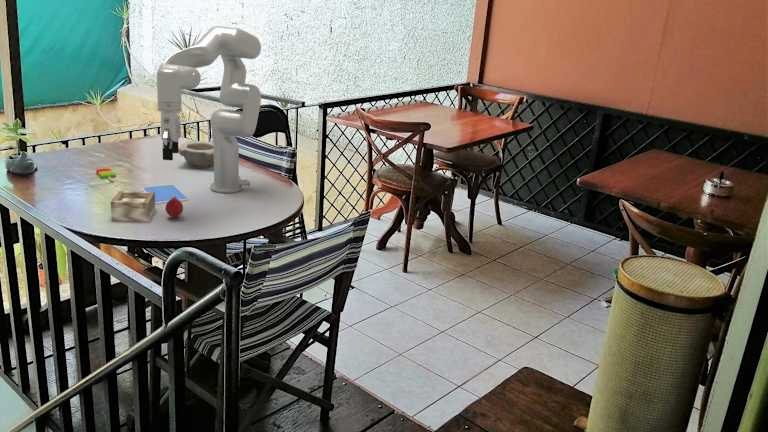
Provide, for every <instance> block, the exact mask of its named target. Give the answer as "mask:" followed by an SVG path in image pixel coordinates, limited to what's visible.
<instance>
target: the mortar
mask: <svg viewBox="0 0 768 432" xmlns="http://www.w3.org/2000/svg"><path fill="white" fill-rule="evenodd" d="M178 154H179V155H180V157H181V156H182V157H183V158H184V160H185V161H186V163H187V165H188V166H190V168H191V167H192V168H194V169H195V168H196V169H207V168H211V167H214V144H213V142H212V141H204V140H188V141H187V142H184V143H182V144H181V145H180V146H179V147H178Z"/></svg>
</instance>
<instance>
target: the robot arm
mask: <svg viewBox="0 0 768 432" xmlns="http://www.w3.org/2000/svg"><path fill="white" fill-rule="evenodd" d="M261 50H262V44H261V41H260V39H259V38H258V37H257V36H256V35H254V34H252V33H249V32H247V31H245V30H244V29H240V28H238V27H230V26H221V25H217V26H212V27H211V28H209V29H208V30H207V31H206V32H205V34H203V35H202V36H201V38H200V39H199V40H198V41H197V42H195V44H194V45H192V46H189V47H186V48H183V49H182V50H179V51H176V52H173V53H172V54H171V55H169V56H168V57H167V58H166V59H164V61H163V62H162V63H161V64H160V65H159V66H158V67H159V68H158V69H157V72H156V93H157V94H156V95H157V97H156V98H157V111H159V112H160V138H161V139H160V140H161V141H162V160H164V161H173V160H174V154H179V152H178V149H179V139H180V138H181V137H182V128H181V127H182V126H181V125H182V124H181V114H180V112H182V90H193V89H196V88H197V87H198V86H199V85H200V83H201V80H202V79H201V78H202V77H201V76H202V75H201V73H200V72H199V70H197V69H199V68H205V67H208V66H210V65H212V64H213V63H214V62H216V60H217V58H219V56H220V57H221V60H222V62H223V75H222V80H221V86H220V90H219V91H220V92H219V102H220V103H221V104H222V105H223V106H227V107H230V108H237V109H242V111H241V110H240V111H238V110H234V109H232V110H231V109H224V108H222V109H221V108H220V109H217V110H214V111H213V113H212V114H211V116H210V121H209V122H210V128H211V132H212V139H213V142H212V143H213V144H214V165H213V182H212V183H211V184H210V185H209V189H210V190H211V191H213V192H215V193H219V194H220V193H221V194H233V193H237V192H240V191H242V190H243V187H244V186H245V187H246V186H249V187H250V186H251V181H250V180H248V179H242V178H241V176H240V175H239V166H240V165H239V163H240V161H239V155H240V154H239V150H240V149H239V142H238V140H237V138H236V137H239V138H240V137H241V138H250V137H252V136H253V135H254V134H255V131H256V128H257V125H258V124H257V123H258V120H259V119H258V118H259V113H260V109H261V103H262V94H261V90H260V88H259V87H258V86H257V85H255V84H252V83H251V84H249V83H246V78H247V68H246V66H245V65H246V64H245V63H244V62H243V60H242V59H246V60H247V59H248V60H255V59H257V58H258V57H259V56H260V53H261Z"/></svg>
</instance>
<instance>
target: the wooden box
mask: <svg viewBox="0 0 768 432" xmlns="http://www.w3.org/2000/svg"><path fill="white" fill-rule="evenodd" d="M110 212H111V221H113V222H139V223H142V222H143V223H145V222H147V223H148V222H150V220H151V218H152V217H153V215H154V214H155V212H156V204H155V192H144V191H134V190H132V191H131V190H119V191H118V192H117V194H116V195H115V196H114V197H113V198H112V200H111V201H110Z"/></svg>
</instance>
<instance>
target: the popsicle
mask: <svg viewBox="0 0 768 432" xmlns="http://www.w3.org/2000/svg"><path fill="white" fill-rule="evenodd" d="M95 172H96V174H97V176H98V177H99V178H100V179H101V180H105V179H106V180H107V179H108V180H109V181H110V182H111V183H112V182H114V181H115V180H114V179H115V178H117V175H116V174H115V172H113V171H112V169H110V168H101V169H96V171H95Z"/></svg>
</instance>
